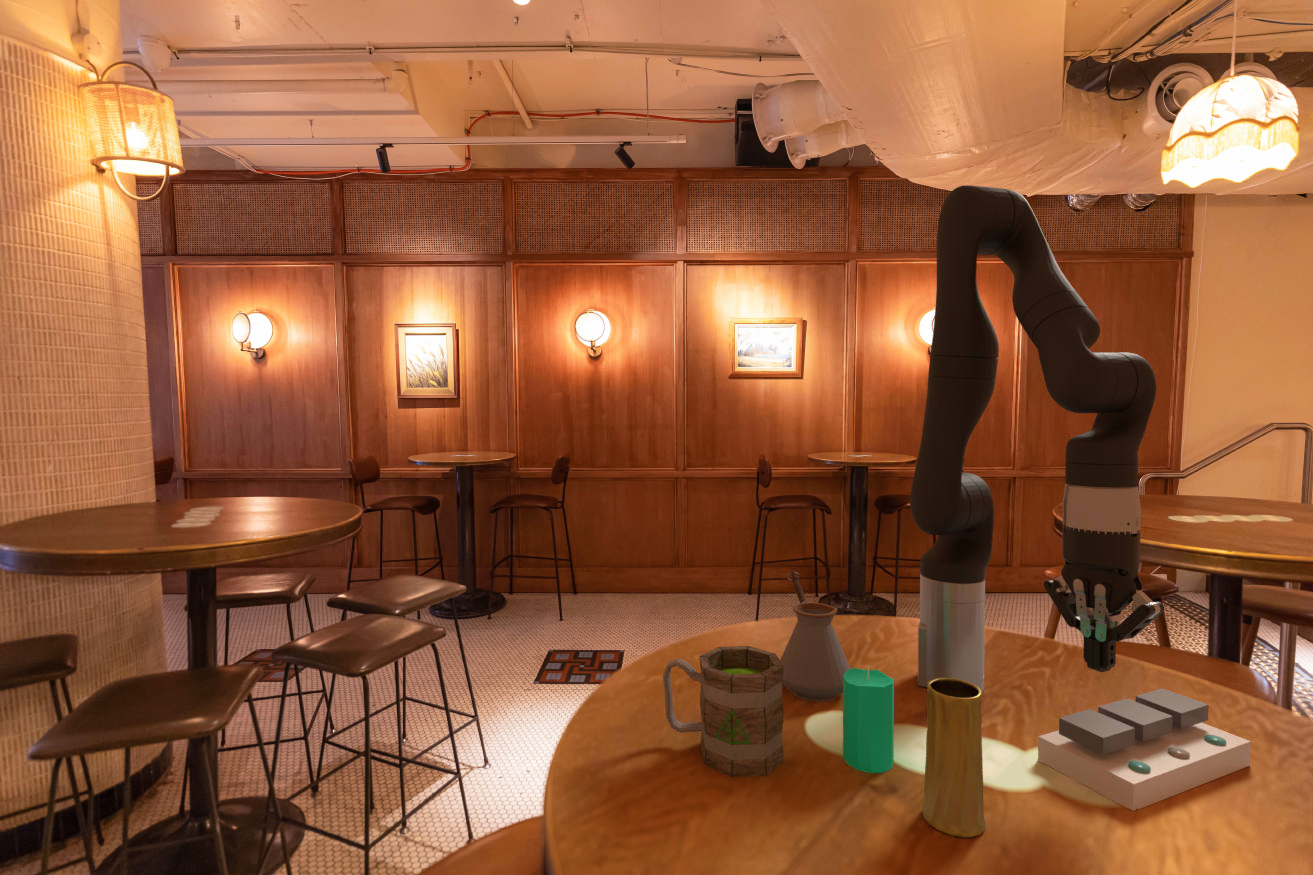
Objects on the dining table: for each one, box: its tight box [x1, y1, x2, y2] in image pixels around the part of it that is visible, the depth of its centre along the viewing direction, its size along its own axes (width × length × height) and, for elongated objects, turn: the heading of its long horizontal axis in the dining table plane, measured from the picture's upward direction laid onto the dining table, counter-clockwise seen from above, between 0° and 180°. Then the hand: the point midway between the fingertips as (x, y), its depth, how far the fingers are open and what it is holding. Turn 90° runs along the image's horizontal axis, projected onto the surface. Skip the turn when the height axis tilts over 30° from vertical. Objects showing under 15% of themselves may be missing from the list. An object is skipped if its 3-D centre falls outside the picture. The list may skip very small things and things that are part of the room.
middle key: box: [1097, 697, 1173, 742], centre depth 79 cm, size 6×5×2 cm
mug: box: [662, 645, 785, 778], centre depth 82 cm, size 16×11×12 cm
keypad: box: [1037, 722, 1252, 811], centre depth 78 cm, size 22×11×3 cm, turn 113°
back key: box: [1134, 687, 1209, 729], centre depth 82 cm, size 6×5×2 cm
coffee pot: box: [779, 570, 852, 702], centre depth 104 cm, size 21×12×15 cm, turn 0°
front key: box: [1058, 708, 1135, 755], centre depth 76 cm, size 6×5×2 cm
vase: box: [921, 678, 986, 838], centre depth 68 cm, size 6×6×14 cm
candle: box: [842, 664, 895, 774], centre depth 80 cm, size 6×6×12 cm
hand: (1099, 669), depth 76 cm, fingers closed
